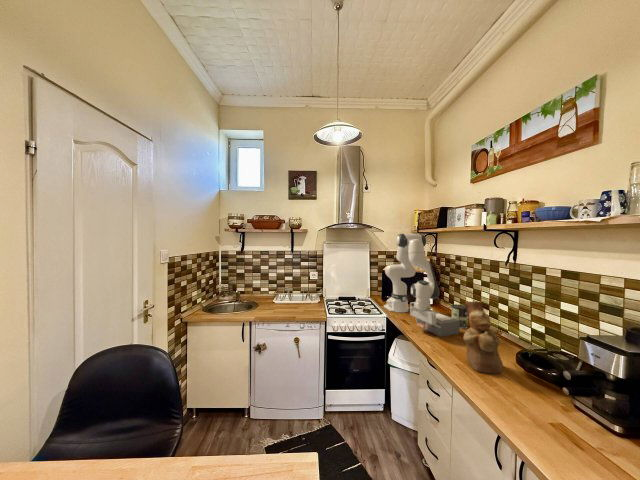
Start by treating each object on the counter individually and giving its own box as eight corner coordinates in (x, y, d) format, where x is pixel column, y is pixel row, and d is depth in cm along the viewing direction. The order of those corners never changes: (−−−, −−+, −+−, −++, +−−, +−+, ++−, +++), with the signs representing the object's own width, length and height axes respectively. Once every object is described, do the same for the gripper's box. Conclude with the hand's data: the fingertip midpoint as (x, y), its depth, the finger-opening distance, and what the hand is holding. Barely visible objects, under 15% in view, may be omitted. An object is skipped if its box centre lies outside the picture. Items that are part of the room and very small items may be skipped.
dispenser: (417, 326, 174) (418, 314, 174) (436, 323, 180) (436, 311, 180) (439, 337, 156) (439, 323, 156) (459, 333, 162) (459, 320, 162)
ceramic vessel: (473, 373, 115) (474, 309, 114) (454, 351, 137) (455, 297, 136) (510, 376, 113) (512, 311, 112) (485, 354, 134) (486, 299, 134)
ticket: (416, 325, 166) (417, 323, 165) (440, 321, 172) (440, 320, 172) (423, 328, 160) (423, 326, 160) (446, 324, 167) (446, 322, 167)
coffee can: (468, 325, 177) (469, 306, 177) (466, 329, 169) (467, 309, 169) (452, 322, 183) (452, 303, 183) (449, 326, 175) (450, 306, 175)
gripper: (439, 310, 155) (438, 332, 155) (415, 301, 174) (415, 321, 174) (431, 310, 152) (430, 333, 153) (408, 302, 172) (408, 322, 172)
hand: (422, 326), depth 164 cm, fingers closed on ticket, 5 cm apart
